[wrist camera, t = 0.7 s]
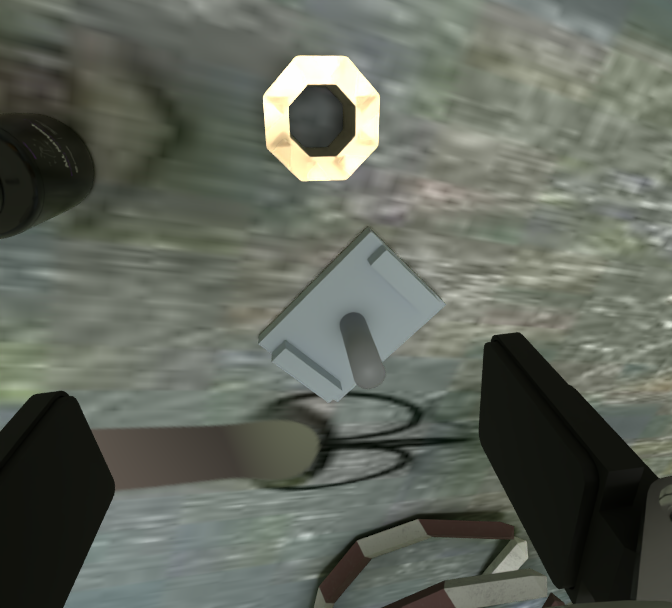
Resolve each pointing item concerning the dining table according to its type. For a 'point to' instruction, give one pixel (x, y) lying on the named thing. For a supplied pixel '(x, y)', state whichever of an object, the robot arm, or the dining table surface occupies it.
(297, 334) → the shaft stand
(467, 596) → the disc with segmented arms
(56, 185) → the supplement bottle
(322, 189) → the dining table surface
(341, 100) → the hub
